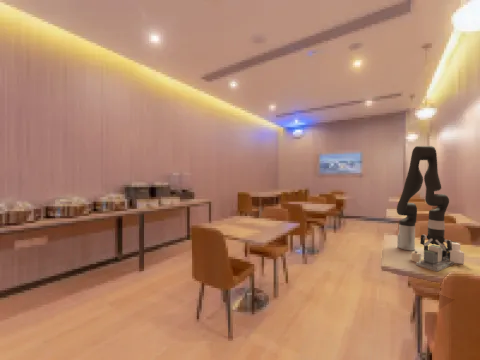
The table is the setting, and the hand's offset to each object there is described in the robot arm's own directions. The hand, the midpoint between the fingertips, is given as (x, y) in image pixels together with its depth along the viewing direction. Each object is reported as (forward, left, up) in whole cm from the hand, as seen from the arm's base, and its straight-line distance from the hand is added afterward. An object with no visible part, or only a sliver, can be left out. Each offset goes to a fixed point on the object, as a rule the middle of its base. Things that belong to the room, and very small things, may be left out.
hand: (435, 254), depth 133 cm
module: (0, 0, -3) cm, 3 cm away
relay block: (-8, -3, -6) cm, 11 cm away
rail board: (0, 0, -6) cm, 6 cm away
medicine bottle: (+3, +16, -6) cm, 17 cm away
